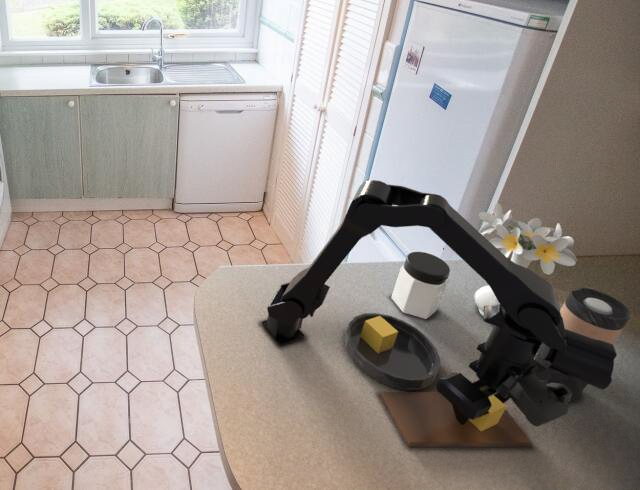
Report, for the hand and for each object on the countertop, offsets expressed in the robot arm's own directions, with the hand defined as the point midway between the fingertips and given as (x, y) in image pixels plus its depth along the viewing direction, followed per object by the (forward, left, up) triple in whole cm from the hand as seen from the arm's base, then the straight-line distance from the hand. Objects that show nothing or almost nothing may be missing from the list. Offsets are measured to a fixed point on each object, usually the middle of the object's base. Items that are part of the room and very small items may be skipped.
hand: (476, 414), depth 78 cm
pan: (-3, +15, -2) cm, 16 cm away
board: (-4, +1, -2) cm, 4 cm away
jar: (+14, +24, -2) cm, 28 cm away
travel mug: (+21, 0, -2) cm, 21 cm away
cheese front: (0, 0, 0) cm, 0 cm away
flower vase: (+28, +16, -2) cm, 32 cm away
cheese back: (-3, +18, -1) cm, 19 cm away
